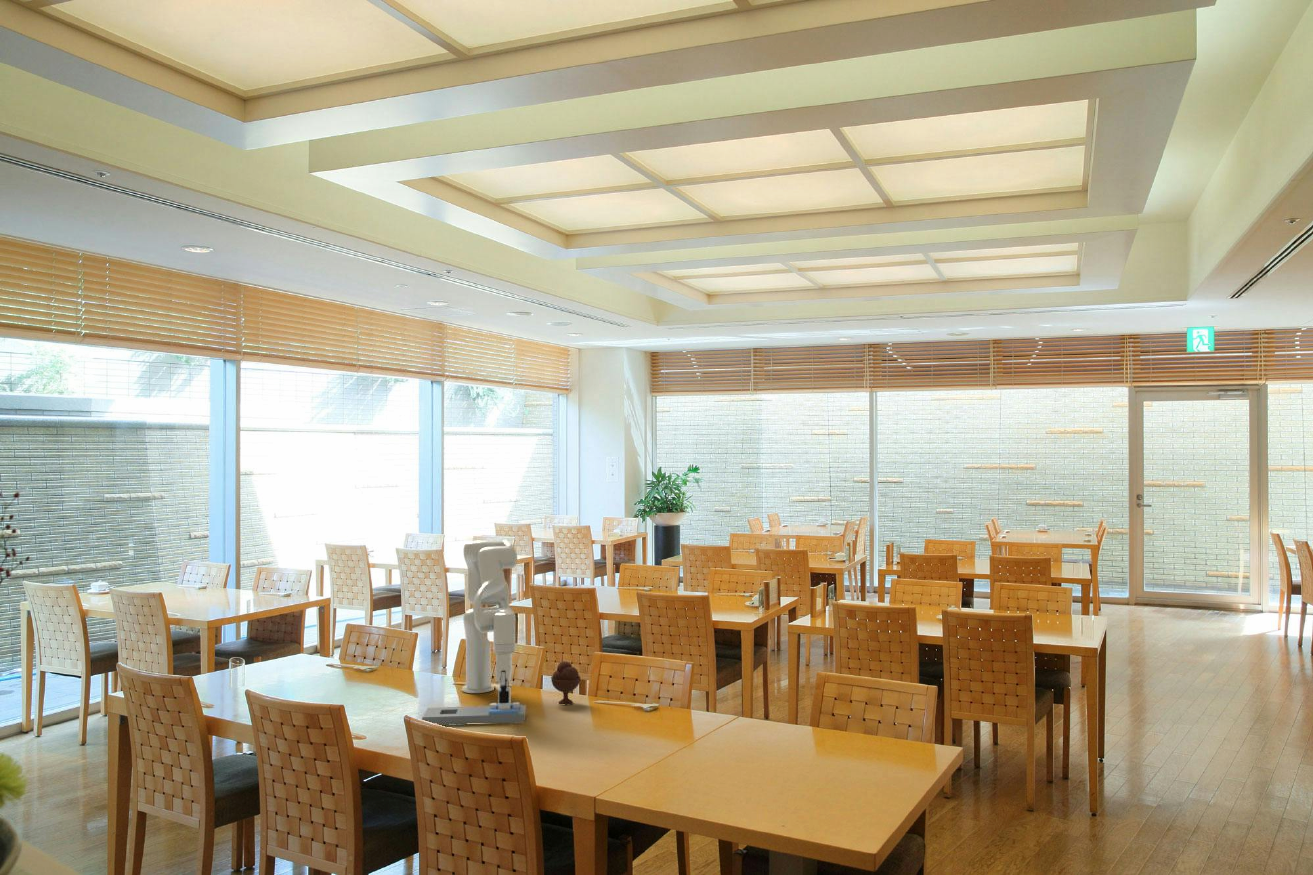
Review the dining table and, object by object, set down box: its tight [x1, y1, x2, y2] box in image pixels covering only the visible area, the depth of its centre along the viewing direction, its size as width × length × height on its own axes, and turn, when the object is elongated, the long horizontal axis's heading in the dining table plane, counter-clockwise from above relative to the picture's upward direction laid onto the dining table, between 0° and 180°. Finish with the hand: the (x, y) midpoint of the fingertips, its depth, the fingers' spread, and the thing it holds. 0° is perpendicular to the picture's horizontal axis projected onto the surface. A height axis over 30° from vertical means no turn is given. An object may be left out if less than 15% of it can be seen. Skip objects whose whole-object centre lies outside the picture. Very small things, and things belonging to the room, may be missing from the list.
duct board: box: [421, 701, 527, 726], centre depth 319 cm, size 12×34×5 cm, turn 95°
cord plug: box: [497, 684, 512, 709], centre depth 320 cm, size 4×4×12 cm
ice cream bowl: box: [550, 661, 581, 705], centre depth 340 cm, size 11×11×15 cm
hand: (504, 700), depth 320 cm, fingers open, 4 cm apart
